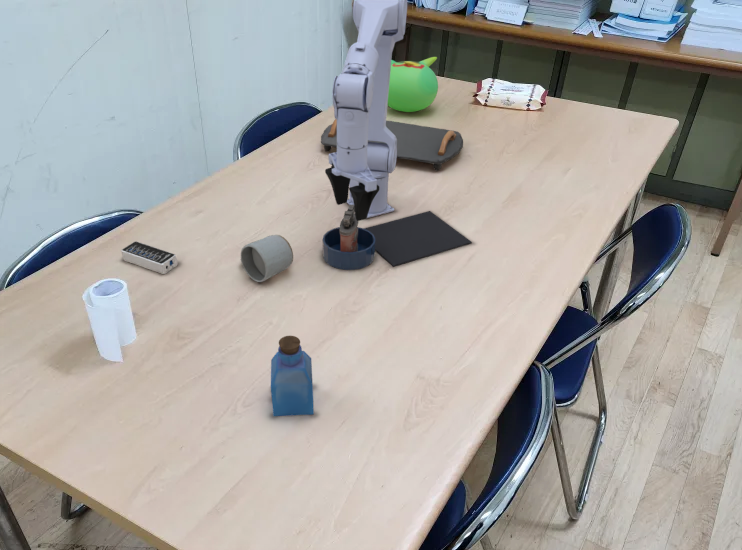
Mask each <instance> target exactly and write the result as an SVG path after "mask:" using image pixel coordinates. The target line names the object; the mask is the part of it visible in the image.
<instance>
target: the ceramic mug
mask: <svg viewBox="0 0 742 550" xmlns="http://www.w3.org/2000/svg"><path fill="white" fill-rule="evenodd" d="M293 261H294V251H293V248H292V246H291V243H289V241H288V240H287V238H285V237H284V236H282V235H280V234H271V235H267V236H266V237H263V238H261V239H258V240H256V241H255V240H254V241H252V242H249V243H247V244H244V245H243V247H242V248H241V250H240V262H241V265H242V267H243V269H244V271H245V274H247V276H248V277H249V278H250V279H251V280H253V281H254V282H257V283H263V282H265V281H267V280H268V279H270V278H272V277H275V276H276V275H278V274H280V273H282V272H283V271H285V270H287V269H288V268H289V267H290V266H291V265H292V263H293Z"/></svg>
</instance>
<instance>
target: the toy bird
mask: <svg viewBox="0 0 742 550" xmlns="http://www.w3.org/2000/svg"><path fill="white" fill-rule="evenodd" d="M437 59H438V57H437V56H431V57H428V58H426V59H423V60H420V61H414V60H400V61H395V60H393V59H391V70H390V82H389V93H388V105H387V107H389V108H391V109H392V110H395V111H398V112H404V113H416V112H419V111H423V110H425V109H426V108H428V107H429V106H431V105H432V104H433V102H434V101H435V99H436V97H437V94H438V92H439V91H438V90H439V82H438V77H437V75H436V74H435V72H434V71H433V69H431V68H430V66H432V65H433V63H435V62H436V61H437Z"/></svg>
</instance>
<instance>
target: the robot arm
mask: <svg viewBox="0 0 742 550" xmlns="http://www.w3.org/2000/svg"><path fill="white" fill-rule="evenodd" d="M352 6H353V7H352V18H353V22H354V25H355V27H356V30H357V32H358V33H357V35H358V36H357V40H356V42H353V43H352V44H351V45H350V47H348V50H347V54H346V57H345V61H344V64H343V67H342V70H341V72H340V73H339V75H335V77H334V79H333V83H332V91H331V94H332V98H331V99H332V106H333V111H334V113H333V114H334V117H333V118H334V120H335V119H337V147H336V151H335V152H330V153H328V164H329V165H331V166H330V167H327V168H325V170H324V172H325V175H326V177H327V178H328V180H329V182H330V185H331V188H332V192H333V196H334V199H335V204H336V205H338V206H339V205H343V204H348V206H350V205H354V209H355V212H354V213H355V217H356V220H357V221H358V222H360V221H363V220H366V219H369V218H373V217H377V216H382V215H385V214H388V213H393V212H395V208H394V207H393V206H391V205H390V204H389V203H388V195H389V179H390V178H389V175H390V174H392V173H393V172H394V171H395V169H396V164H397V159H398V158H397V139H396V136H395V135H394V134H393V133H392V132H391V131H390V130H389V129H388V128H387V127H386V121H387V117H388V116H387V115H388V93H389V82H390V70H391V60H392V58H393V57H392V56H393V51H394V48H395V44H396V43H397V42H400V41H402V40H404V35H405V33H406V26H407V25H406V24H407V14H408V0H353V5H352ZM368 140H369V141H379V142H385V143H378V142H368Z"/></svg>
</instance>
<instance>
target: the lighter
mask: <svg viewBox="0 0 742 550" xmlns="http://www.w3.org/2000/svg"><path fill="white" fill-rule="evenodd" d="M339 227H340V234H341V251H342V252H356V251H358V243H357V237H358V228H357V227H359V221H357V220H356V217H355V209H354V205H348V207H347V209H346V210H344V214H343V217H342V219H341V221H340V223H339Z"/></svg>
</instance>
